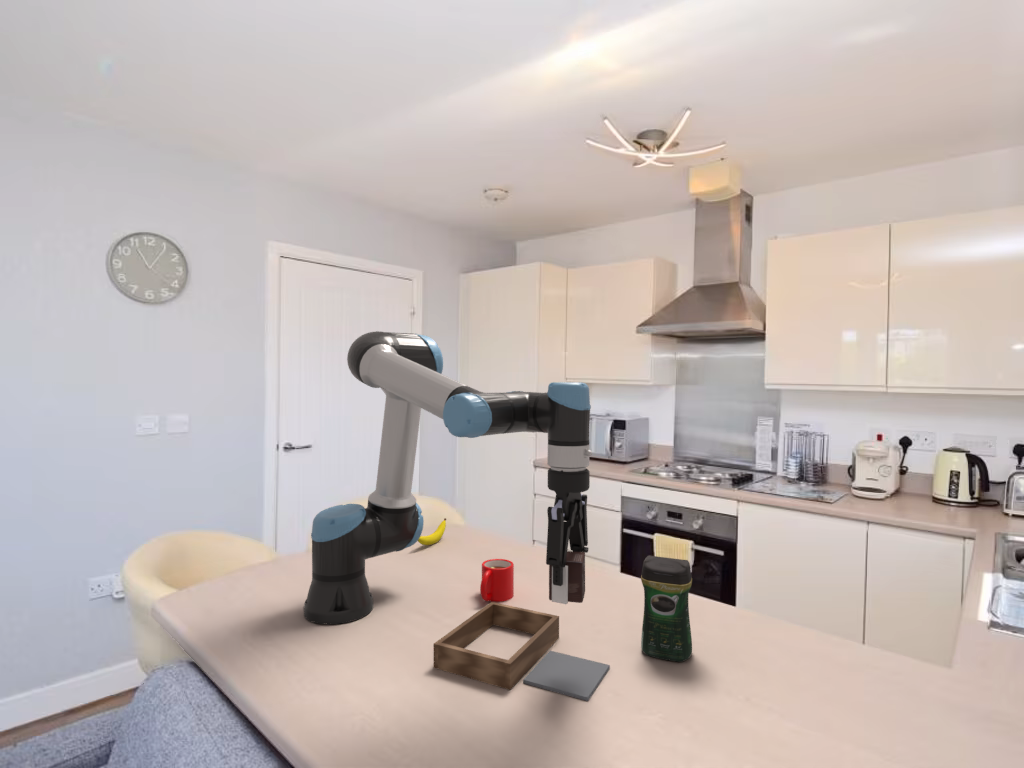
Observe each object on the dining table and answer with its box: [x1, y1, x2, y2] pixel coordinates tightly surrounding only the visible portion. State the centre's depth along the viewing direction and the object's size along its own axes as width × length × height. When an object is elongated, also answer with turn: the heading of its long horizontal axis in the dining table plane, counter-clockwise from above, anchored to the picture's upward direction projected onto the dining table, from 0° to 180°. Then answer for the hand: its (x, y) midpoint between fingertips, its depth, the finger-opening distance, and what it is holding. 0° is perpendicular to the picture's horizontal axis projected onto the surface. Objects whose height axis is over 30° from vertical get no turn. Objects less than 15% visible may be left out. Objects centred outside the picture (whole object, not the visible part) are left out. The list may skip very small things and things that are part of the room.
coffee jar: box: [640, 555, 693, 663], centre depth 111 cm, size 10×8×19 cm
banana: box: [417, 518, 447, 546], centre depth 181 cm, size 3×19×6 cm, turn 158°
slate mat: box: [522, 650, 611, 702], centre depth 102 cm, size 12×12×1 cm
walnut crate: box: [433, 601, 560, 691], centre depth 111 cm, size 16×22×4 cm
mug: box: [479, 558, 515, 603], centre depth 138 cm, size 8×12×8 cm, turn 157°
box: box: [548, 550, 586, 604], centre depth 102 cm, size 6×6×7 cm
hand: (567, 594), depth 102 cm, fingers closed on box, 7 cm apart
